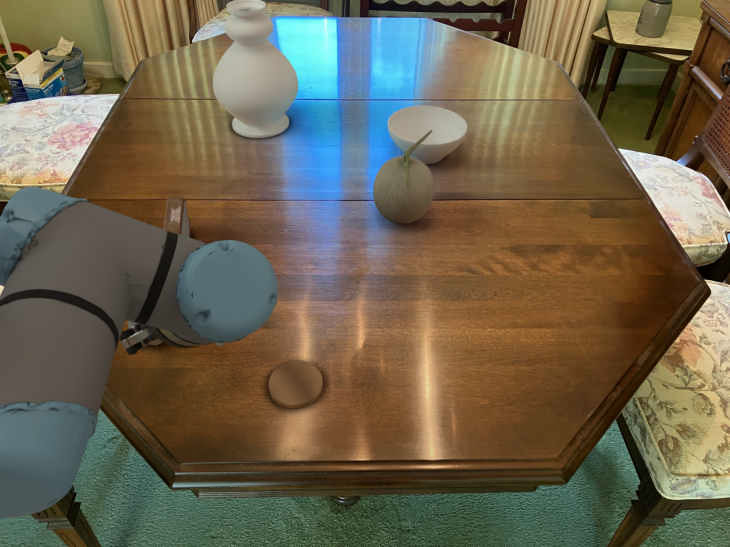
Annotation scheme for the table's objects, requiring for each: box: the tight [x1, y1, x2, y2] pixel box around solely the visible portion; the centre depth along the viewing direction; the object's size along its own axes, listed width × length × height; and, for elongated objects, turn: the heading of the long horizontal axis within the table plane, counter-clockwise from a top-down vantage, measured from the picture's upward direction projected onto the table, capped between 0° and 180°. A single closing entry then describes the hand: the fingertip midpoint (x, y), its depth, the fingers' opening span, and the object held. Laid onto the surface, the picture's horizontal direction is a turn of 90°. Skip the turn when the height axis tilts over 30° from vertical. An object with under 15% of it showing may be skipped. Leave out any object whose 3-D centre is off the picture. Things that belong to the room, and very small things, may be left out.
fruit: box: [372, 130, 435, 225], centre depth 94 cm, size 10×12×15 cm
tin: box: [162, 196, 191, 238], centre depth 88 cm, size 15×3×8 cm, turn 10°
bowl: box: [387, 105, 469, 165], centre depth 112 cm, size 16×16×7 cm
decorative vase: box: [212, 0, 299, 139], centre depth 114 cm, size 18×18×25 cm
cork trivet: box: [268, 360, 324, 409], centre depth 72 cm, size 7×7×1 cm
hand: (156, 325), depth 74 cm, fingers closed
